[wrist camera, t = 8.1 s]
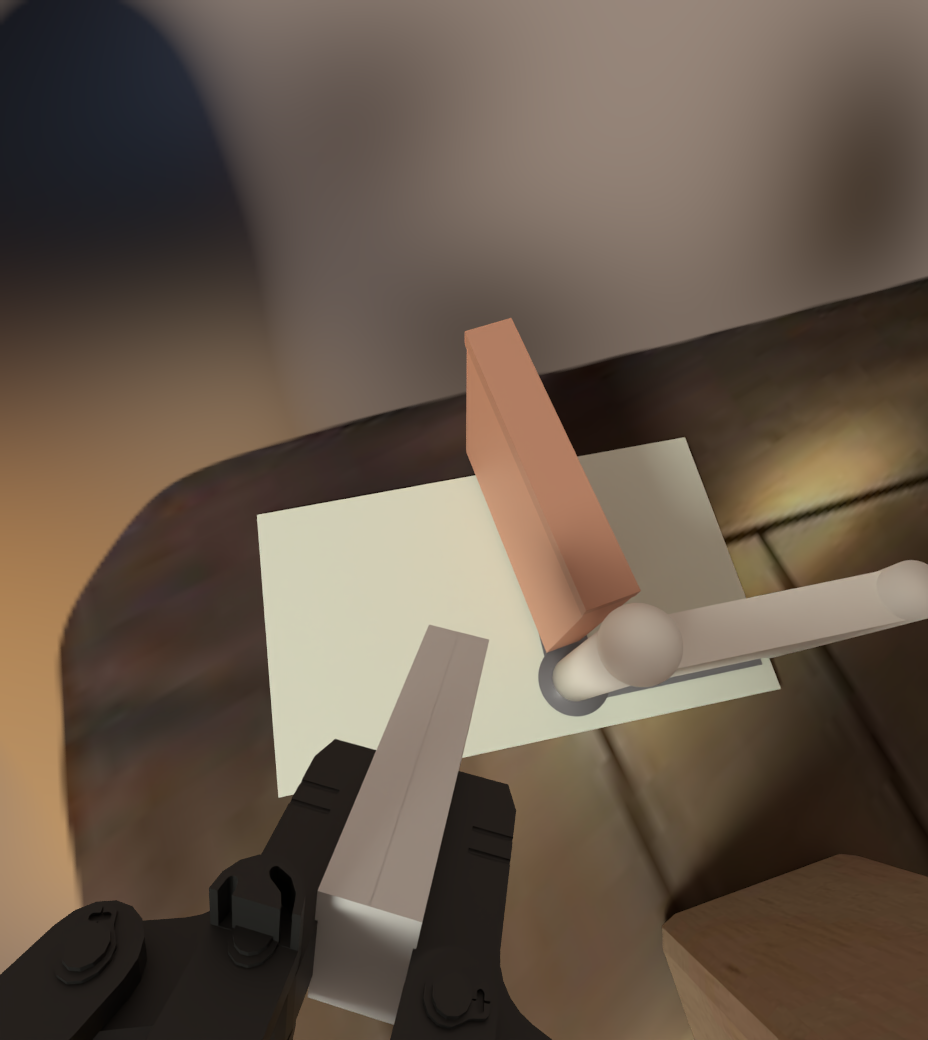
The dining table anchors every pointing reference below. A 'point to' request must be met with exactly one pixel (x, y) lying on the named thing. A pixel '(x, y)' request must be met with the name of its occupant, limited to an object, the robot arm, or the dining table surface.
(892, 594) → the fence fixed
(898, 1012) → the wooden block
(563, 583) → the terracotta rectangular slab
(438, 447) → the dining table surface
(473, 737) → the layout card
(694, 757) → the dining table surface
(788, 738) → the dining table surface
